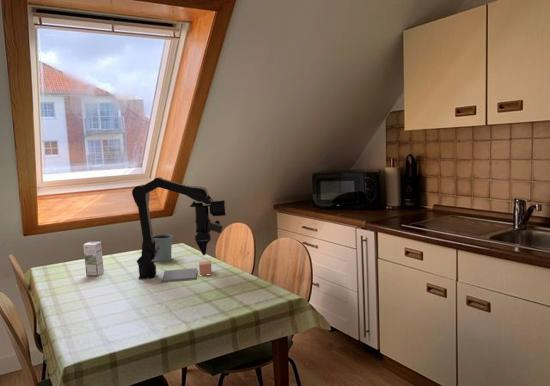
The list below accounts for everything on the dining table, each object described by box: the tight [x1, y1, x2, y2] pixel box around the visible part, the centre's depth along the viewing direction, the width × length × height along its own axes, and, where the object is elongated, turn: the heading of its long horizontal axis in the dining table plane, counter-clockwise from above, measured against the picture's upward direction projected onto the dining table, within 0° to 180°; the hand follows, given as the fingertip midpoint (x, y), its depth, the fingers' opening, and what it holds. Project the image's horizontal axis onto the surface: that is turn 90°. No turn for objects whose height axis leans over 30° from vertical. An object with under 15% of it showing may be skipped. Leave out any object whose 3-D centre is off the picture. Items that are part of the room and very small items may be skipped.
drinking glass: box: [153, 233, 173, 263], centre depth 219 cm, size 10×10×12 cm
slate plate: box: [161, 267, 198, 283], centre depth 192 cm, size 14×14×1 cm
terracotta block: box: [198, 260, 213, 276], centre depth 194 cm, size 5×5×5 cm
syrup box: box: [82, 241, 105, 277], centre depth 199 cm, size 6×6×14 cm
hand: (204, 252), depth 193 cm, fingers open, 9 cm apart
